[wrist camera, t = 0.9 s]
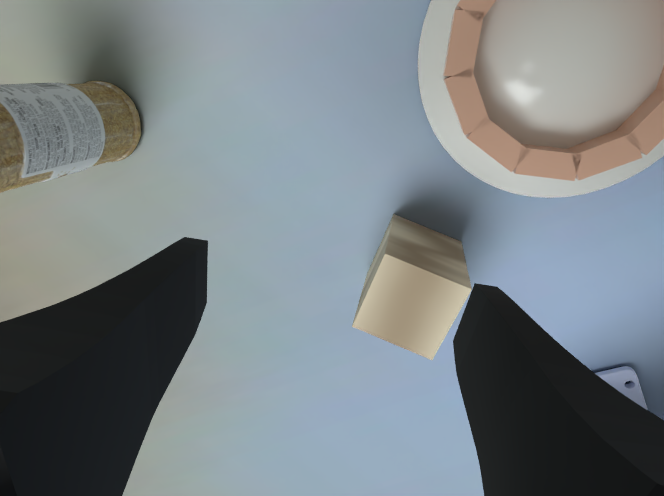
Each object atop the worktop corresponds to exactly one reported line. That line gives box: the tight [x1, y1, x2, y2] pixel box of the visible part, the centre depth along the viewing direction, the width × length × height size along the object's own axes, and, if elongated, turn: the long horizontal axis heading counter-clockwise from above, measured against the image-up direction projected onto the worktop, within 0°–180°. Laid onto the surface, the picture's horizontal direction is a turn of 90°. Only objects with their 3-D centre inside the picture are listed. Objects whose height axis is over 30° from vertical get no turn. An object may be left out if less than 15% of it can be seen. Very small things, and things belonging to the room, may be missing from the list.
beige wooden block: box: [352, 214, 472, 360], centre depth 23 cm, size 4×4×6 cm
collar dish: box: [418, 0, 664, 198], centre depth 20 cm, size 13×13×2 cm
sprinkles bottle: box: [0, 81, 141, 193], centre depth 20 cm, size 5×5×13 cm
